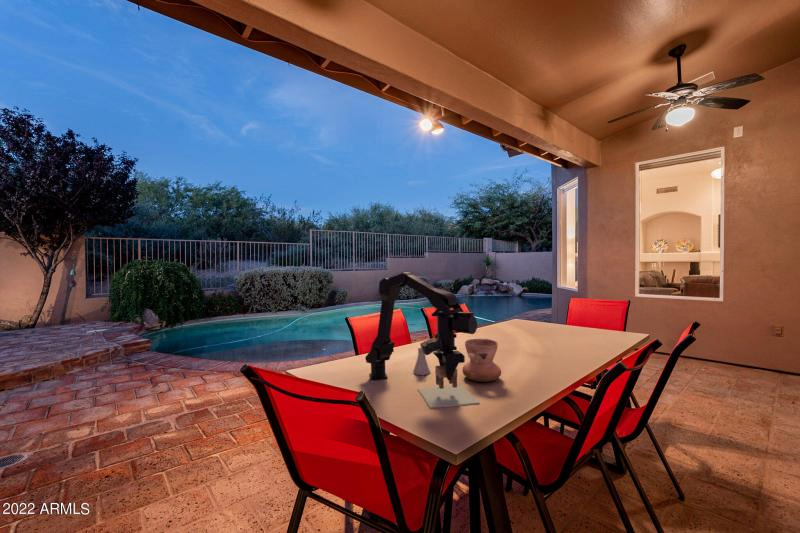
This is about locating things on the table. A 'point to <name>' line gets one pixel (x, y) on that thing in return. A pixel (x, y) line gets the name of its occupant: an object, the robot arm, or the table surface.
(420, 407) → the table surface
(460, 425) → the table surface
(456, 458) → the table surface
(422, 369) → the flask
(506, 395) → the table surface
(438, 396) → the sage mat
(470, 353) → the ceramic jug
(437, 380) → the walnut stool
